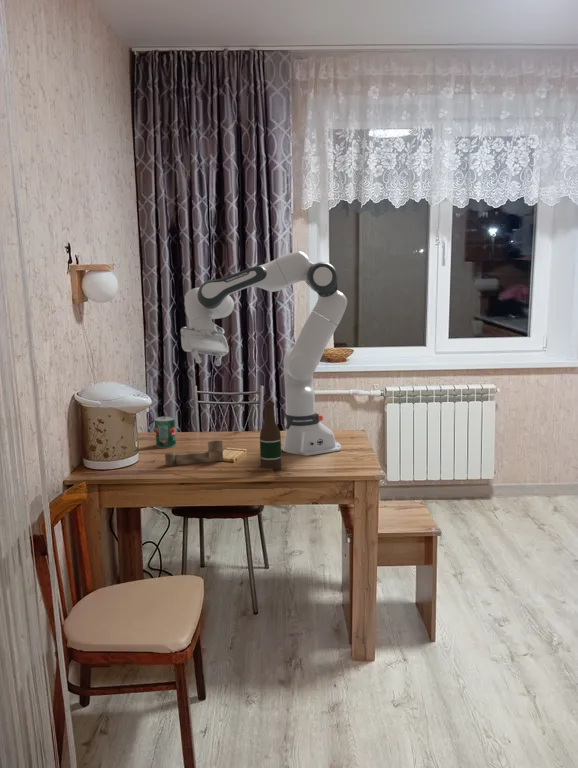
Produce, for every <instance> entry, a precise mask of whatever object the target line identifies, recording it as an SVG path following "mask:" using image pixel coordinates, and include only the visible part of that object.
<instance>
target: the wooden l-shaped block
mask: <svg viewBox="0 0 578 768" xmlns="http://www.w3.org/2000/svg"><path fill="white" fill-rule="evenodd" d="M164 460H165V461H164V462H165V467H175V466H176V465H177V466H179V465H189V464H199V463H212V462H213V463H214V462H223V461H224V452H223V439H211V440H207V451H200V452H199V451H197V452H187V453H177V454H176V452H166V453H164Z"/></svg>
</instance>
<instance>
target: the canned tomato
mask: <svg viewBox="0 0 578 768" xmlns="http://www.w3.org/2000/svg"><path fill="white" fill-rule="evenodd" d="M154 429H155V431H154V432H155V446H156V448H159V449H168V448H173V447H175V446H177V438H176V419H175V416H171V415H169V416H167V415H166V416H165V415H164V416H158V417H154Z"/></svg>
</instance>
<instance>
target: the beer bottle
mask: <svg viewBox="0 0 578 768" xmlns="http://www.w3.org/2000/svg"><path fill="white" fill-rule="evenodd" d="M263 405H264V408H265V409H264V423H263V426H262V428H261V429H260V432H259V433H260V434H259V450H260V451H259V455H260V468H264V469H272V471H273V472H274V473H276V472H279V471H281V470H282V438H281V431H280V428H279V426H278V425H277V423H276V416H275V401H274V400H273V401H272V400H269V401H265V402H264V404H263Z"/></svg>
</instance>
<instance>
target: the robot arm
mask: <svg viewBox="0 0 578 768" xmlns="http://www.w3.org/2000/svg"><path fill="white" fill-rule="evenodd" d="M338 278H339V277H338V272H337V270H336V268H335V266H333V265H332V264H331V263H329V262H327V261H326V262H325V261H319V262H316V263H314V262H312V261H311V260H310V258H309V256H308V255H307V254H306V253H304V252H303V251H300V250H298V251H292V252H289V253H287V254H284V255H282V256H279V257H277V258H276V259H273V260H271V261H269V262H266V263H263V264H261V265H256V266H252V267H249V268H245V269H243V270H241V271H238V272H235V273H233V274H231V275H228V276H226V277H225V276H224V277H223V278H222V277H221V278H217V279H209V280H206V281H204V282H203V283H202V284H201V285H200V286H199V287H194V288H191V289H190V290H188V291H187V292H186V293H185V296H184V308H185V313H186V314H185V315H186V316H187V318H188V327H187V326H182V327H181V328H180V342H181V343H180V344H181V348H182V350H183V351H184V352H186V353H187V352H189V353H190V354H191V356H192V357H193V359H194V360H195V363H196V364H201V363H203V359H202V356H201V357H200V355H199V354H201V355H202V354H203V355H208V356H209V355H210V356H215V358H216V360H215V361H214V365H215V367H220V366H221V365H222V358H223V357H224V356H226V355H228V354H229V351H230V350H229V349H230V348H229V345H228V341H227V338H226V336H225V335H224V334H225V329H224V328H223V327H220V326H219V325H217V324H216V323H214V322H213V320H217V319H224V318H227V317H229V316H231V314H232V313H233V311H234V308H235V302H234V301H235V300H234V299H233V298H232V296H231V295H233V294H234V293H237V292H240V291H242V290H244V289H247V288H251V287H252V288H259V289H263V290H265V291H267V292H271V293H273V292H274V293H275V292H278V291H281V290H284V289H286V288H288V287H290V286H292V285H294V284H296V283H299V282H305V283H306V284H307V285H308V287H310V289H311V290H313V292H316V293H317V295H318V297H317V298H318V299H317V301H316V303H315V305H314V307H313V308H312V310H311V312H310V314H309V316H308V318H307V319H306V321H305V323H304V325H303V326H302V328H301V330H300V333H299V335H298V337H297V339H296V341H295V344H294V346H293V347H291V348H289V349H288V350H287V351H286V352H285V354H284V356H283V378H284V393H285V396H284V397H285V413H284V428H285V434H284V442H283V444H282V445H283V446H282V447H281V450H282V451H283V452H285V453H288V454H293V455H294V454H295V455H302V456H305V457H306V456H313V455H314V456H315V455H320V454H328V453H333V452H340V451H341V450H342V445H341V444H340V442H338V441H336V438H335V434H334V432H333V431H332V430H331V429H330V428H329V427H327V426H326V425H325V424H323V423H322V421H323V420H324V415H322V414H319V413H317V412H316V410H315V408H316V407H315V405H316V404H315V401H316V400H315V399H316V398H315V387H314V373H315V371H316V369H317V367H318V366H319V364H320V361H321V359H322V357H323V355H324V352H325V350H326V348H327V345H328V343H329V342H330V340H331V338H332V336H333V335H334V333H335V331H336V330H337V327H338V326H339V325H340V323H341V320H342V318H343V316H344V314H345V312H346V309H347V306H348V298H347V297H346V295H345V294H344V293H343V292H342V291H339V290H338V281H339V280H338Z"/></svg>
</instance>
